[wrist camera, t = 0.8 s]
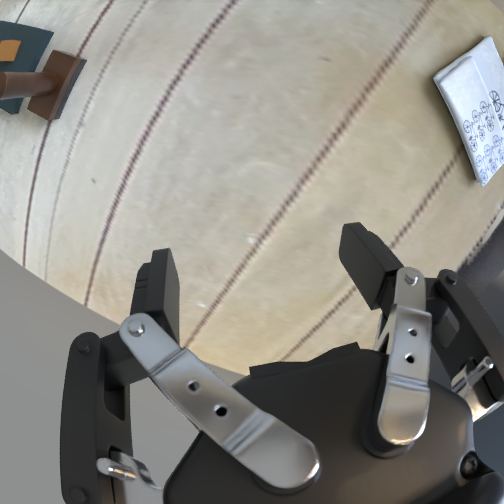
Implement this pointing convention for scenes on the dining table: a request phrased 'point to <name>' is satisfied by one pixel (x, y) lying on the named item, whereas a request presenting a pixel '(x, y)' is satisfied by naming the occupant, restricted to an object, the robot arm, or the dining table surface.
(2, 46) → the brown wooden block
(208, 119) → the dining table surface
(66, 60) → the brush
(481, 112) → the folded bicycle print cloth
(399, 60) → the dining table surface
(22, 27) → the tray
